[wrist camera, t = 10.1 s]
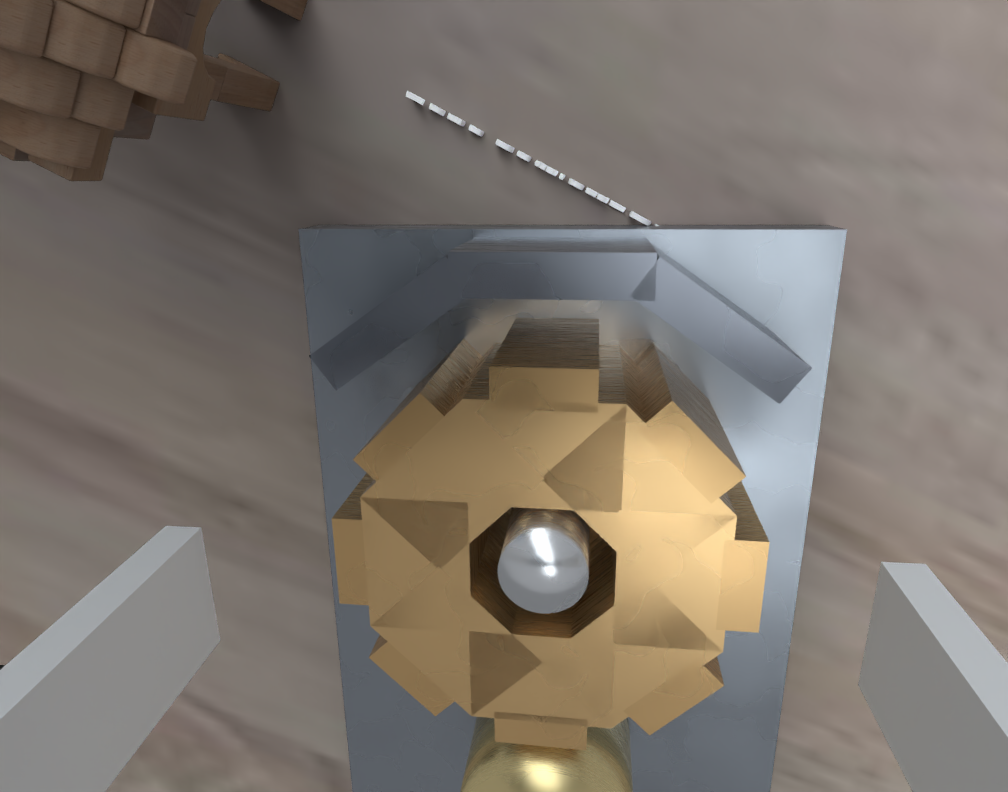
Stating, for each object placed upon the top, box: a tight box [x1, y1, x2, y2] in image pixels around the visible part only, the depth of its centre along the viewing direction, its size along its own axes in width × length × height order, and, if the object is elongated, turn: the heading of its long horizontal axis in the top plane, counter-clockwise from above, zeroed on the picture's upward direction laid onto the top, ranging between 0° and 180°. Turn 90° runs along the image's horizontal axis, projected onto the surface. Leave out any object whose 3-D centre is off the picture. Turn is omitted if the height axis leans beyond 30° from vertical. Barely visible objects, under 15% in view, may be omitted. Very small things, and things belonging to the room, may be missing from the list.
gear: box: [332, 317, 770, 750], centre depth 18 cm, size 9×9×5 cm
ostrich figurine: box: [0, 0, 659, 226], centre depth 11 cm, size 17×7×18 cm, turn 64°
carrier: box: [299, 225, 847, 792], centre depth 19 cm, size 20×14×6 cm
